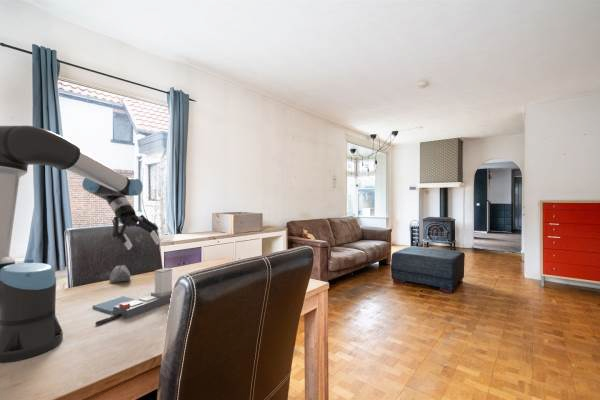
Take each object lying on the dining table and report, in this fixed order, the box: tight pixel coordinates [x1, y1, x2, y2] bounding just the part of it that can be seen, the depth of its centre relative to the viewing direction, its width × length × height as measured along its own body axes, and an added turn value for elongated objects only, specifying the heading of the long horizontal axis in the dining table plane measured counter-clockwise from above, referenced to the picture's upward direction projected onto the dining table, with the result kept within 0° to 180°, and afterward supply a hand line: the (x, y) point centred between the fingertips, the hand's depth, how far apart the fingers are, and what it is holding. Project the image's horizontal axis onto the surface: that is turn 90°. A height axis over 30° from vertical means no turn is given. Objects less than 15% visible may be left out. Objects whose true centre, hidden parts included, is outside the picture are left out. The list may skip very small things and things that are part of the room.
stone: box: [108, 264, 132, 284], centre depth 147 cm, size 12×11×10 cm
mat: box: [92, 296, 136, 315], centre depth 114 cm, size 12×12×1 cm
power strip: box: [95, 288, 173, 326], centre depth 111 cm, size 32×8×4 cm, turn 154°
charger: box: [154, 267, 173, 294], centre depth 120 cm, size 5×4×10 cm
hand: (145, 245), depth 126 cm, fingers open, 13 cm apart
